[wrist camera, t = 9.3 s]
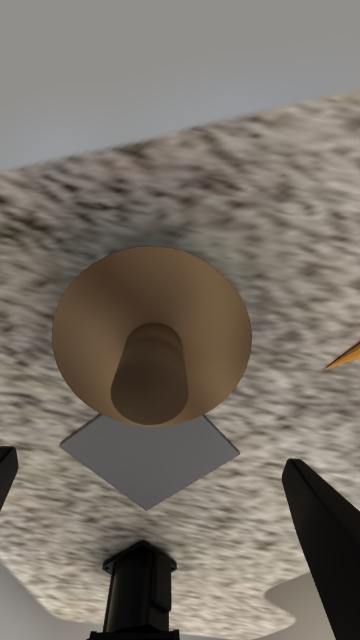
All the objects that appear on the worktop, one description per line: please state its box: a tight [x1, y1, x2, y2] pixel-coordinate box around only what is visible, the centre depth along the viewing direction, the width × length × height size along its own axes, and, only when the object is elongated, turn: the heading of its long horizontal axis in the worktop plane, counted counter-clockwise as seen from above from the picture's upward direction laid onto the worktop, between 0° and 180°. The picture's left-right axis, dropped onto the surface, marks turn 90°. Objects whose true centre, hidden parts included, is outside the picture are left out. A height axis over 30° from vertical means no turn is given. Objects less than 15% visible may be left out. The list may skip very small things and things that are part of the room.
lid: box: [52, 246, 252, 427], centre depth 13 cm, size 11×11×5 cm
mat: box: [59, 414, 240, 511], centre depth 24 cm, size 12×12×1 cm
